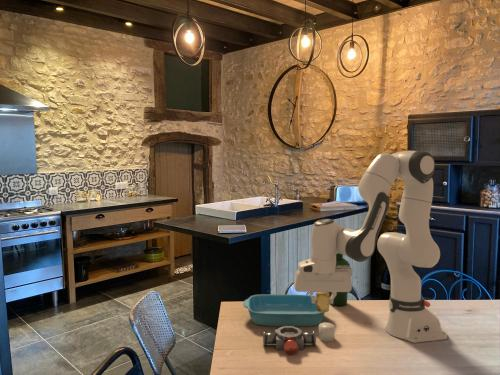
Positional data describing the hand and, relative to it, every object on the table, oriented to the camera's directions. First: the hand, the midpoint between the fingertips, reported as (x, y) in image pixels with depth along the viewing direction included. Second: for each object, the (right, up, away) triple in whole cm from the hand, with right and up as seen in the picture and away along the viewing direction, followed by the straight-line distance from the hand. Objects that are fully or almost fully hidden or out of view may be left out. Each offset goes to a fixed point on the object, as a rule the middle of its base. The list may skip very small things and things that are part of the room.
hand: (322, 303), depth 143 cm
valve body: (-11, -18, +5) cm, 21 cm away
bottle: (+16, -14, +46) cm, 51 cm away
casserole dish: (-10, -16, +30) cm, 36 cm away
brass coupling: (0, -2, 0) cm, 3 cm away
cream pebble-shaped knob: (+4, -17, +11) cm, 21 cm away
